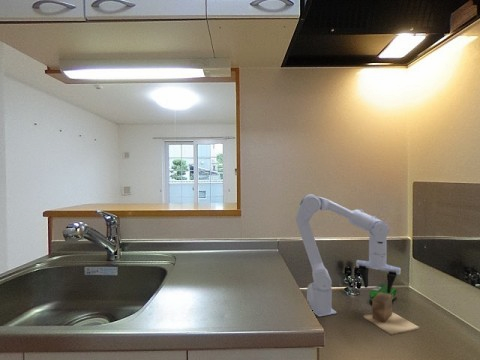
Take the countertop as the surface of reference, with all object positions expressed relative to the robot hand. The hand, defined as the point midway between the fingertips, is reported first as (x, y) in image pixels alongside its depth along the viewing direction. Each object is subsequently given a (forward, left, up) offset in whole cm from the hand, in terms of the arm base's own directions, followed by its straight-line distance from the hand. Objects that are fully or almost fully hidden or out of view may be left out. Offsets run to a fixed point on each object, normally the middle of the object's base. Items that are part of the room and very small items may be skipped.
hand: (377, 289), depth 101 cm
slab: (+2, 0, -9) cm, 9 cm away
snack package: (-9, +11, -10) cm, 17 cm away
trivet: (+6, 0, -9) cm, 11 cm away
